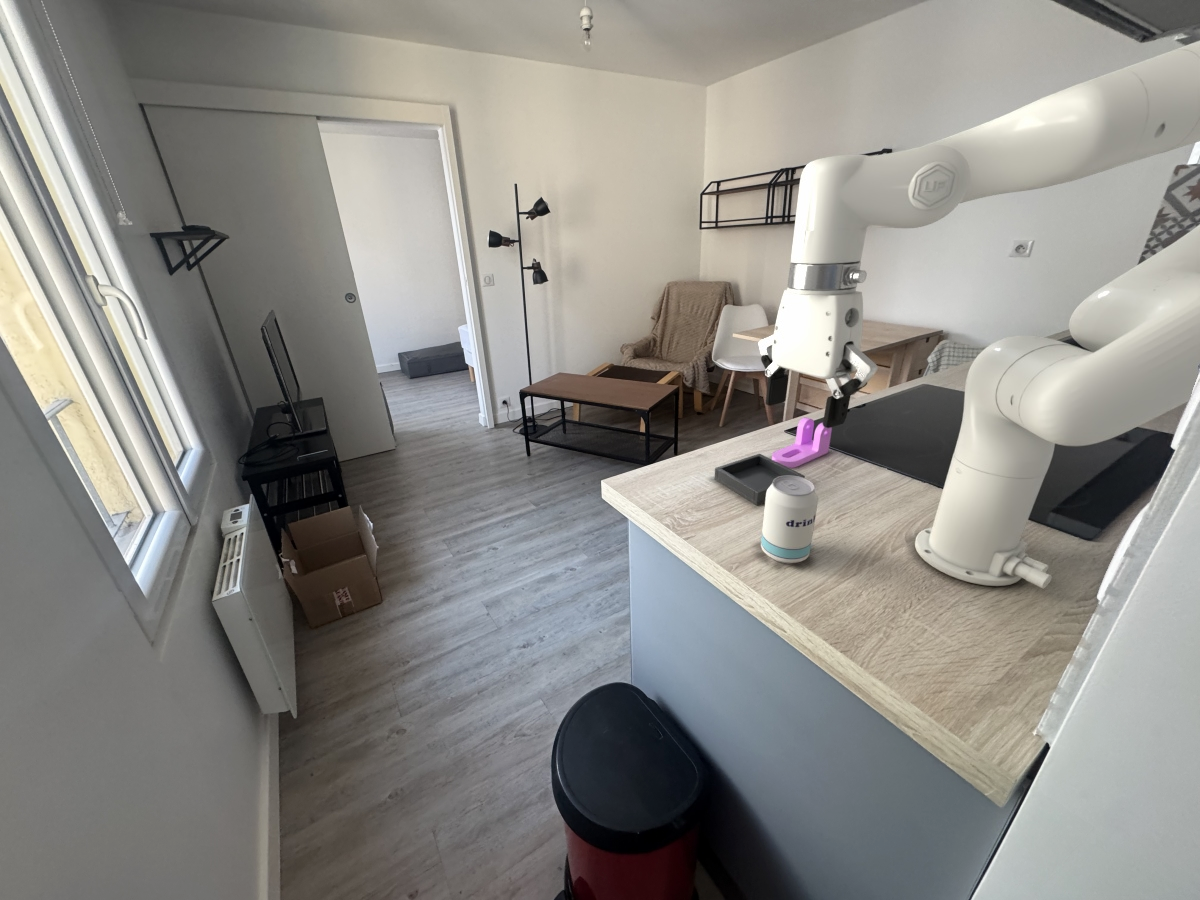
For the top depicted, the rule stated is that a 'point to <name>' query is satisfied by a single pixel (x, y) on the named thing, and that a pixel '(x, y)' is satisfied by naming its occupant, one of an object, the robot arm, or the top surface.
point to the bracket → (805, 444)
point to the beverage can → (789, 519)
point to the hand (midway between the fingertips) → (802, 413)
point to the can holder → (752, 476)
